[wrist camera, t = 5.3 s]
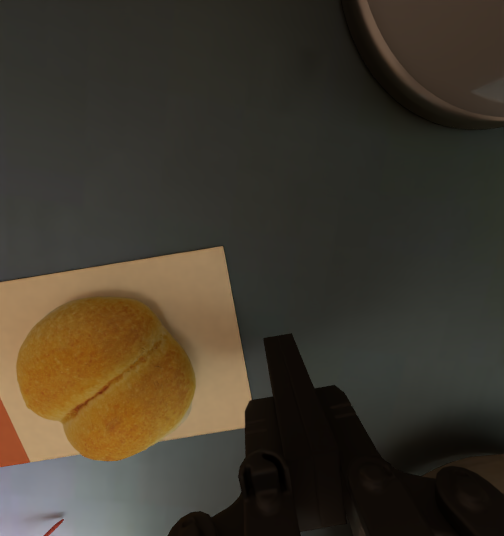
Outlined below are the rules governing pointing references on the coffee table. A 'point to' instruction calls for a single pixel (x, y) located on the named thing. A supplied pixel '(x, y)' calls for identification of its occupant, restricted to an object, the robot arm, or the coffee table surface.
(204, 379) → the placemat
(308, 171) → the coffee table surface
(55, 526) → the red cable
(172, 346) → the bread roll
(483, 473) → the bowl
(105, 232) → the coffee table surface
